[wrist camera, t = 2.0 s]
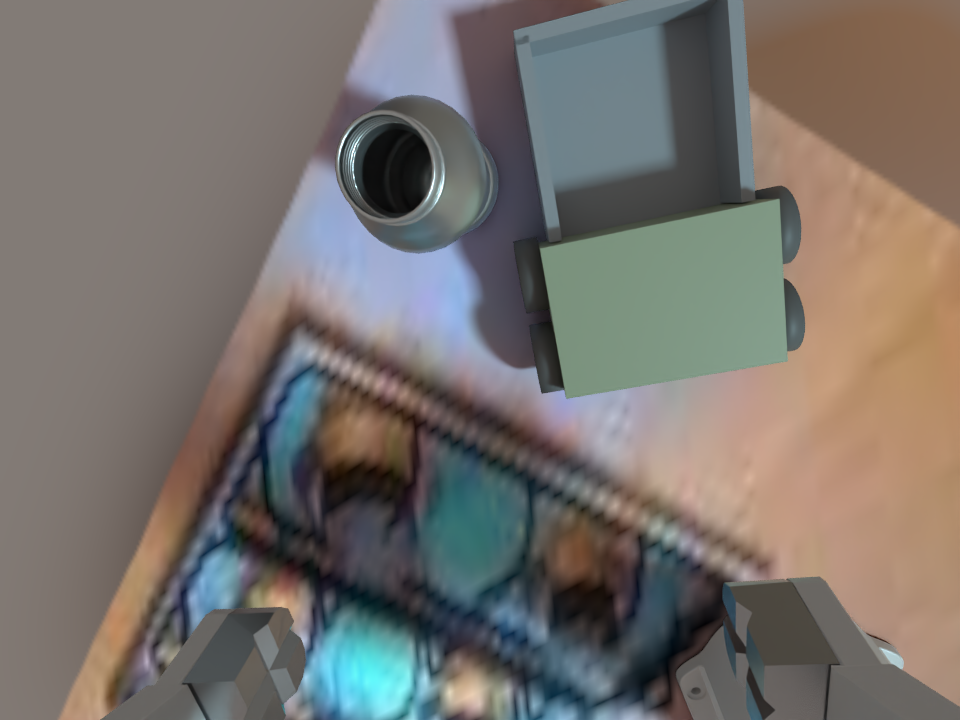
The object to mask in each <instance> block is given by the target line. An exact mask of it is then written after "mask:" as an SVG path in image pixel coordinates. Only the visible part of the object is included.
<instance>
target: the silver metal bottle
mask: <svg viewBox="0 0 960 720" xmlns="http://www.w3.org/2000/svg"><path fill="white" fill-rule="evenodd" d="M335 170H336V176H337V181H338V183H339V186H340V189H341V191H342V193H343V195H344V197H345V198H346V200H347V201H348V202H349V204H350V205H351V207H352V208H353V210H354V212H355V214H356V215H357V217H358V219H359V220H360V222H361V223H362V224H363V225H364V227H365V228H366V229H367V230H368V231H369V233H371V234H372V235H373V236H374V237H376V238H377V239H378V240H379V241H380V242H382V243H384V244H386V245H388V246H390V247H391V248H394V249H397V250H400V251H403V252H409V253H426V252H433V251H436V250H439V249H442V248H445V247H446V246H448V245H450V244H451V243H453V242H455V241H456V240H458V239H459V238H460V237H461V236H462V235H463V234H465V233H468V232H471V231H472V230H474V229H476V228H477V227H479V226H480V225H481V224H482V223H483V222H484V221H485V220H486V218H487V217H488V216H489V214H490V213H491V211H492V209H493V207H494V205H495V202H496V198H497V195H498V185H499V181H498V172H497V168H496V165H495V162H494V160H493V158H492V156H491V154H490V152H489V151H488V149H487V148H486V147H485V145H484V144H483V143H482V142H480V141H479V140H478V139H477V137H476V135H475V133H474V131H473V129H472V128H471V127H470V125H469V124H468V123H467V121H466V120H465V119H464V118H463V117H462V116H461V115H460V114H459V113H458V112H456V111H455V110H454V109H453V108H452V107H450V106H448V105H446V104H445V103H443V102H441V101H439V100H436V99H433V98H430V97H427V96H418V95H407V96H400V97H395V98H393V99H390V100H388V101H385V102H383V103H381V104H380V105H379V106H377V107H376V108H374V109H373V110H371V111H370V112H368V113H366V114H363V115H361V116H360V117H358V118H357V119H355V120H354V121H353V122H352V123H351V124H350V125H349V126H348V127H347V128H346V130H345V131H344V133H343V135H342V136H341V138H340V141H339V144H338V147H337V151H336V157H335Z"/></svg>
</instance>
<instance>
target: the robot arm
mask: <svg viewBox="0 0 960 720" xmlns="http://www.w3.org/2000/svg"><path fill="white" fill-rule="evenodd" d="M723 602H724V604H725V607H726V609H727V612H728V615H727V616H726V617H725V618H724V619H723V626H722V627H721V628H720V629H719V630H718V631H717V632H716V633H715V634H714V635H713V637H712V638H711V639H710V641H709V642H708V644H707V645H706V647H705V648H704V649H703V650H702V651H701V652H700V653H699V654H698V655H696V656H695V657H693V658H692V659H690V660H688V661H687V662H686V663H684V664H683V665H682V666H680V667H679V668H678V670H677V672H676V679H677V681H678V684H679V686H680V689H681V691H682V693H683V696H684V698H685V701H686V703H687V706H688V708H689V711H690V713H691V716H692V718H693V720H960V707H959V706H957V705H956V704H954V703H953V702H951V701H949V700H948V699H946V698H945V697H943V696H942V695H940V694H939V693H937V692H936V691H934V690H933V689H931V688H929V687H928V686H926V685H925V684H923V683H922V682H920V681H919V680H917V679H916V678H914V677H912V676H911V675H909V674H908V673H906V672H905V671H903V670H902V669H903V664H904V661H903V659H902V657H901V656H900V654H899V653H898V651H897V650H896V648H895V647H893V646H892V645H890V644H888V643H886V642H884V641H881V640H879V639H876V638H873V637H871V636H869V635H867V634H866V633H865V632H864V631H863V630H862V629H861V628H860V627H859V626H858V625H857V624H856V623H855V622H854V621H853V620H852V619H851V617H850V616H849V615H848V613H847V612H846V610H845V609H844V607H843V606H842V604H841V603H840V601H839V600H838V598H837V597H836V596H835V594H834V593H833V591H832V590H831V588H830V587H829V585H828V584H827V582H826V581H825V580H823V579H822V578H821V577H805V578H790V579H786V580H785V579H774V580H759V581H743V582H728V583H724V586H723ZM293 622H294V620H293V618H292V616H291V614H290V612H289V609H288V608H282V607H272V608H237V609H214V610H213V611H211V612H210V613H208V614H206V615H205V617H204V618H203V619H202V621H201V622H200V624H199V625H198V626H197V628H196V629H195V630H194V632H193V633H192V635H191V636H190V637H189V639H188V640H187V641H186V643H185V644H184V646H183V647H182V648H181V650H180V651H179V652H178V654H177V655H176V657H175V658H174V659H173V661H172V662H171V663H170V665H169V666H168V668H167V669H166V670H165V672H164V673H163V674H162V676H161V677H160V679H159V680H158V681H157V683H156V684H155V685H151V686H146V687H145V688H143V689H142V690H141V691H139V692H138V693H137V694H135V695H134V696H132V697H131V698H130V699H128V700H127V701H126V702H124V703H123V704H121V705H120V706H119V707H117V708H116V709H115V710H113V711H112V712H110V713H109V714H108V715H106V716H105V717H104V718H102V719H101V720H284V718H285V716H286V714H285V709H284V703H285V702H286V701H287V700H288V699H289V698H290V697H292V696H293V695H294V694H295V693H296V692H297V689H298V687H299V685H300V682H301V680H302V678H303V673H304V667H305V661H306V658H305V649H304V645H303V643H302V640H301V638H300V637H299V636H297V635H296V634H295V633H294V632H292V631H291V630H290V629H291V627H292V624H293Z"/></svg>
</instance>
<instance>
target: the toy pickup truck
mask: <svg viewBox="0 0 960 720" xmlns="http://www.w3.org/2000/svg"><path fill="white" fill-rule="evenodd" d="M513 33H514V54H515V60H516V66H517V72H518V77H519V83H520V89H521V95H522V101H523V106H524V112H525V118H526V124H527V130H528V135H529V141H530V147H531V153H532V159H533V164H534V170H535V176H536V182H537V188H538V193H539V199H540V205H541V211H542V217H543V222H544V228H545V234H546V240H547V241H543V242H538V240H537V237H534V238H529V239H524V240H520V241H515V242H513V243H514V250H515V256H516V262H517V268H518V273H519V279H520V284H521V289H522V294H523V299H524V304H525V309H526V313H532V312H537V311H543V310H548V309H549V311H550V317H551V322H545V323H540V324H535V325H530V326H529V327H530V334H531V340H532V346H533V352H534V357H535V363H536V368H537V373H538V379H539V384H540V388H541V392H542V394H543V393H548V392H554V391H560V390H565V395H566V399H568V398H573V397H579V396H585V395H591V394H597V393H603V392H609V391H615V390H621V389H627V388H632V387H638V386H644V385H650V384H656V383H662V382H668V381H674V380H680V379H686V378H692V377H697V376H703V375H709V374H715V373H721V372H727V371H733V370H739V369H745V368H751V367H756V366H762V365H768V364H774V363H780V362H786V361H788V357H787V351H793V350H796V349H798V348H799V347H800V345H801V343H802V341H803V338H804V333H805V317H804V311H803V306H802V303H801V300H800V297H799V295H798V293H797V291H796V289H795V288H794V286H793V285H792V284H791V283H790V282H789V281H788V280H786V279H784V278H783V264H787V263H790V262H791V261H792V260H793V259H794V258H795V256H796V254H797V252H798V249H799V246H800V240H801V220H800V214H799V210H798V206H797V204H796V201H795V199H794V197H793V195H792V194H791V192H790V191H789V190H788V189H787V188H785V187H783V186H776V187H771V188H766V189H761V190H757V191H755V184H754V168H753V152H752V136H751V120H750V104H749V88H748V73H747V57H746V40H745V25H744V8H743V0H628V1H624V2H620V3H616V4H612V5H608V6H605V7H601V8H597V9H593V10H590V11H586V12H582V13H578V14H574V15H571V16H567V17H563V18H559V19H555V20H552V21H548V22H544V23H540V24H536V25H533V26H529V27H525V28H521V29H518V30H514V31H513Z"/></svg>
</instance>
